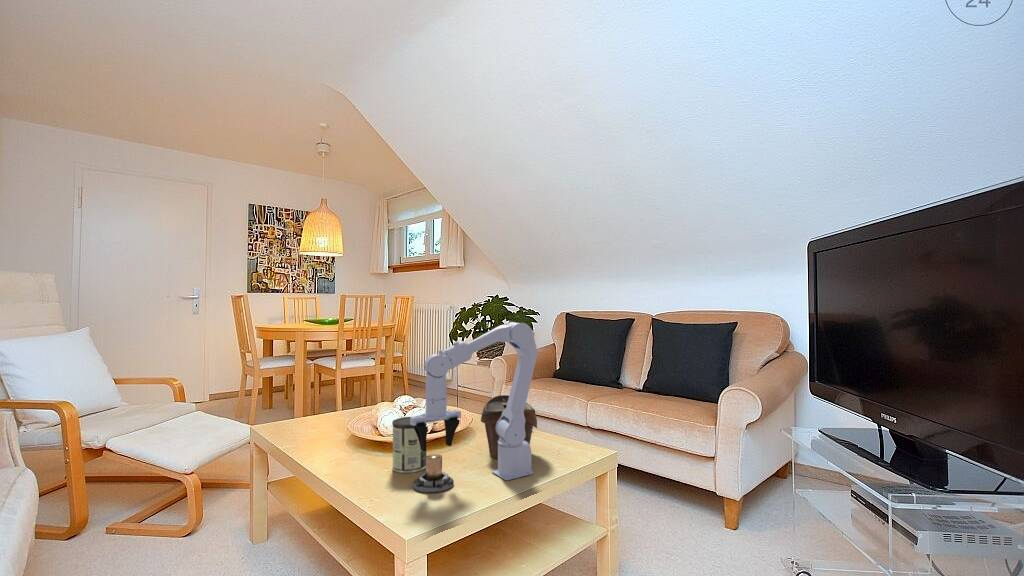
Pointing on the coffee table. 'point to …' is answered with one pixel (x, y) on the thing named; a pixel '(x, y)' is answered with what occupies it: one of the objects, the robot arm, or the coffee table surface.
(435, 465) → the pipe stub
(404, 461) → the coffee can
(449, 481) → the flange
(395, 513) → the coffee table surface
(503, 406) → the brown trash bin
